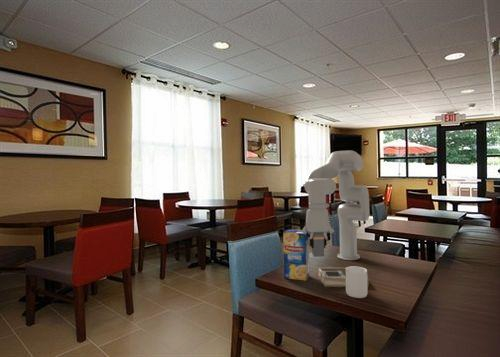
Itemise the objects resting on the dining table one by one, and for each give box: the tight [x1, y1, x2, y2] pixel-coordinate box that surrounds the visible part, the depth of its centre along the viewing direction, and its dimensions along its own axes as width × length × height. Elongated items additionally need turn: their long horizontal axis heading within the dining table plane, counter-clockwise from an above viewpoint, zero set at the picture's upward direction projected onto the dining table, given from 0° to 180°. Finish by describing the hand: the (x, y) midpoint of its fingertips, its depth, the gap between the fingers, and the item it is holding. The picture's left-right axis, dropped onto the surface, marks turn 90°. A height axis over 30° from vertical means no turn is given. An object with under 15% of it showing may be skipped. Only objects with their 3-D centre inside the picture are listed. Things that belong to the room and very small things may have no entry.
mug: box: [345, 265, 368, 299], centre depth 122 cm, size 12×8×10 cm
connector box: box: [317, 267, 370, 288], centre depth 135 cm, size 14×19×4 cm
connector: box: [311, 232, 325, 258], centre depth 132 cm, size 5×5×10 cm
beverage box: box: [282, 229, 310, 282], centre depth 142 cm, size 7×11×22 cm, turn 67°
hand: (318, 246), depth 132 cm, fingers closed on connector, 4 cm apart
